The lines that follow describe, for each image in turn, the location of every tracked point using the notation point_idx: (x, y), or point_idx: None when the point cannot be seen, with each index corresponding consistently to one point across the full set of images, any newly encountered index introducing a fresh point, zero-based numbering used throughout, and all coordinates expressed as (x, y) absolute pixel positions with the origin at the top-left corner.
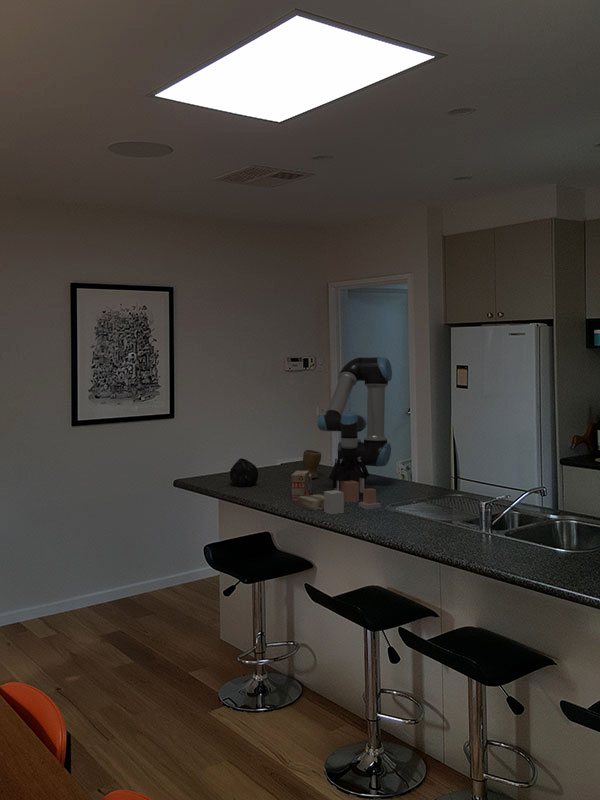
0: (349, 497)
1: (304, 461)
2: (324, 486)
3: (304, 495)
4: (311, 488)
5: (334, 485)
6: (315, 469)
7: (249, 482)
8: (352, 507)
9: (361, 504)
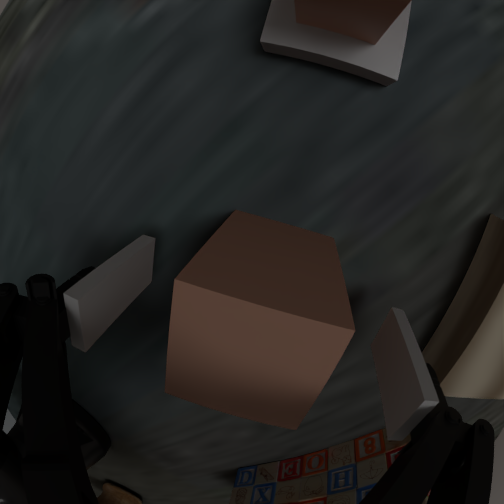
0: (319, 249)
1: None
2: (140, 463)
3: None
4: (248, 481)
5: (437, 384)
6: (106, 499)
7: None
8: (425, 116)
9: (401, 46)
